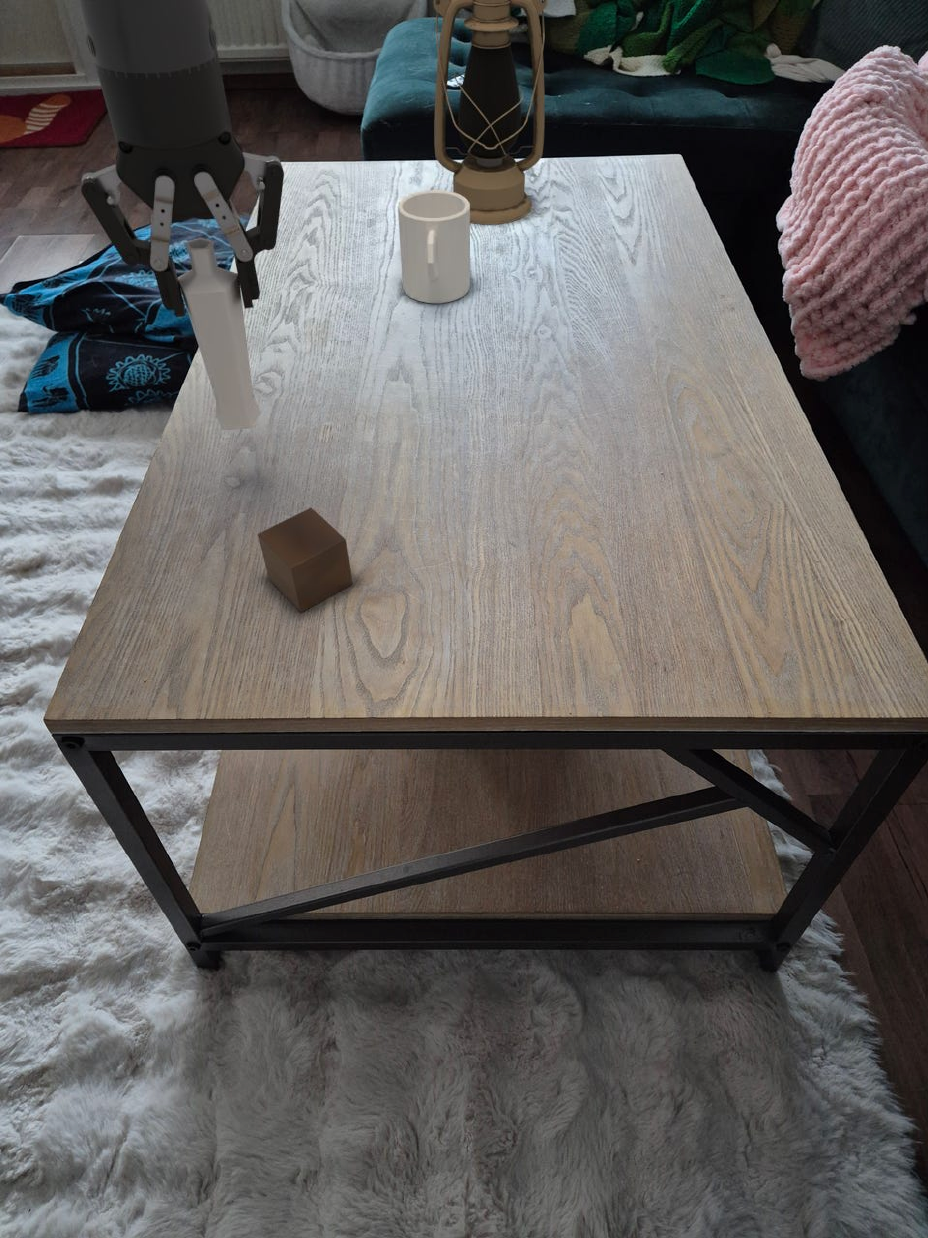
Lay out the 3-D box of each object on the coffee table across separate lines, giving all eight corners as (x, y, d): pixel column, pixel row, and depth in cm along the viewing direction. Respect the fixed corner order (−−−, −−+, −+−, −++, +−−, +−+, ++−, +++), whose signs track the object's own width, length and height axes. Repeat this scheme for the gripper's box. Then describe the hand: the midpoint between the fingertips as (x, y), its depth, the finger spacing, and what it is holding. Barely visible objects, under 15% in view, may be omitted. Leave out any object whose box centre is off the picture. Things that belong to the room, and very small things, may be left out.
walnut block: (300, 613, 68) (291, 568, 64) (268, 578, 70) (257, 533, 66) (352, 584, 70) (346, 539, 66) (319, 551, 72) (311, 506, 69)
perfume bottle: (272, 424, 73) (239, 250, 62) (222, 437, 71) (178, 261, 60) (257, 397, 76) (223, 225, 64) (208, 409, 74) (164, 236, 63)
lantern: (436, 225, 115) (429, -55, 92) (435, 189, 123) (427, -76, 100) (544, 222, 115) (562, -57, 93) (536, 187, 123) (550, -78, 101)
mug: (397, 320, 98) (391, 234, 91) (406, 271, 106) (401, 188, 99) (467, 321, 98) (467, 235, 90) (470, 272, 106) (470, 189, 98)
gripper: (264, 25, 57) (300, 275, 69) (38, 40, 54) (118, 296, 67) (277, 57, 52) (313, 319, 64) (29, 75, 49) (117, 344, 62)
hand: (214, 306), depth 66 cm, fingers closed on perfume bottle, 4 cm apart
